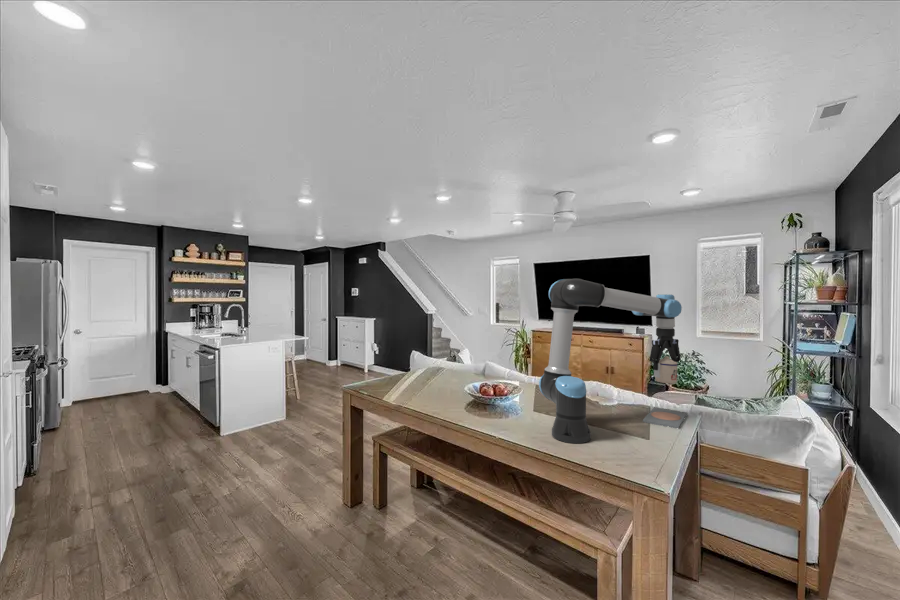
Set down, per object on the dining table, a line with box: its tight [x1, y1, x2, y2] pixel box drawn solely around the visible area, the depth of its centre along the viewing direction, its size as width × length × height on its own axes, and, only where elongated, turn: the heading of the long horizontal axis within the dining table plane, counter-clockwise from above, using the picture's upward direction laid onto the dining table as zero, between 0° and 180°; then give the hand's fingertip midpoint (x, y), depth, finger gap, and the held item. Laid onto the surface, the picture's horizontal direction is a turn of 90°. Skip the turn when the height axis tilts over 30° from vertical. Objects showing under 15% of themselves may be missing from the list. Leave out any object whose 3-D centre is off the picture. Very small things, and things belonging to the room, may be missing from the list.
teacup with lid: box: [654, 355, 679, 385], centre depth 176 cm, size 12×9×12 cm
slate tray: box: [642, 406, 688, 430], centre depth 176 cm, size 24×14×1 cm, turn 141°
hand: (665, 376), depth 176 cm, fingers closed on teacup with lid, 9 cm apart
